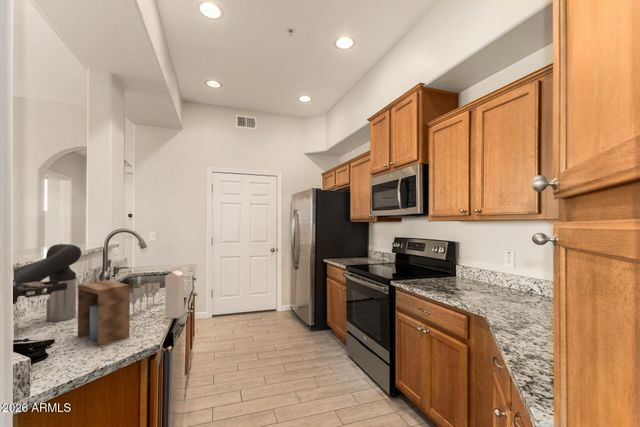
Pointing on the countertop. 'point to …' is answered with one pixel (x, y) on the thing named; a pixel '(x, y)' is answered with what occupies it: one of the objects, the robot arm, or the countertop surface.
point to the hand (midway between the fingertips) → (62, 284)
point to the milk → (174, 294)
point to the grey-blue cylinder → (94, 322)
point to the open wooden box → (105, 310)
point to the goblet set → (139, 293)
